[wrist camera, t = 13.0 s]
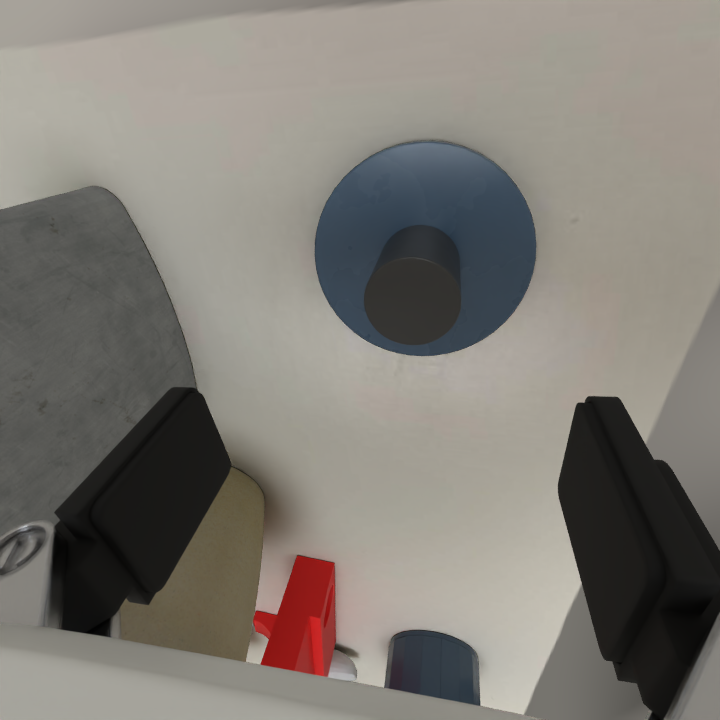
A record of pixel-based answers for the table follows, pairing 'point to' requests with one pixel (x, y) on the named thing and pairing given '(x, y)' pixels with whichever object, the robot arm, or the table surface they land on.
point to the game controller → (342, 667)
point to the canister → (433, 666)
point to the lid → (425, 248)
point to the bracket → (302, 620)
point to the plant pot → (209, 581)
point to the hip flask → (76, 345)
